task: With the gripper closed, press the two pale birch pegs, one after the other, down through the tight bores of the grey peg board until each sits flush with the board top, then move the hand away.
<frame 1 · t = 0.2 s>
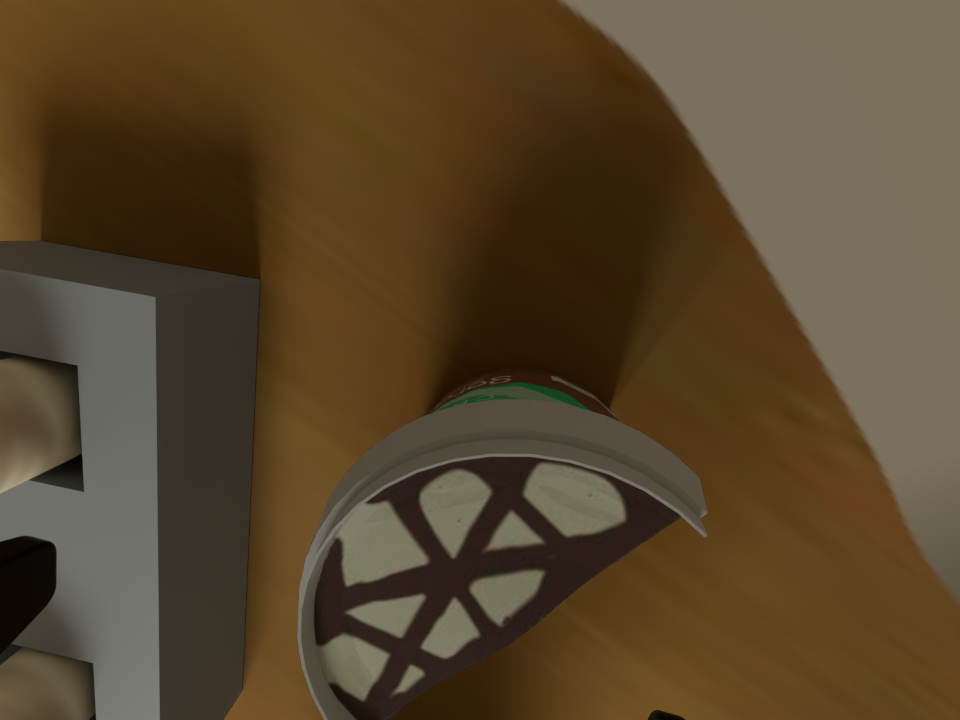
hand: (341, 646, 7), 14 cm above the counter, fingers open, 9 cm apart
birch peg a: (27, 710, 19), point 7 cm above the counter, slide at 3.5 cm
grey peg board: (151, 489, 24), on the counter
food container: (477, 422, 22), on the counter
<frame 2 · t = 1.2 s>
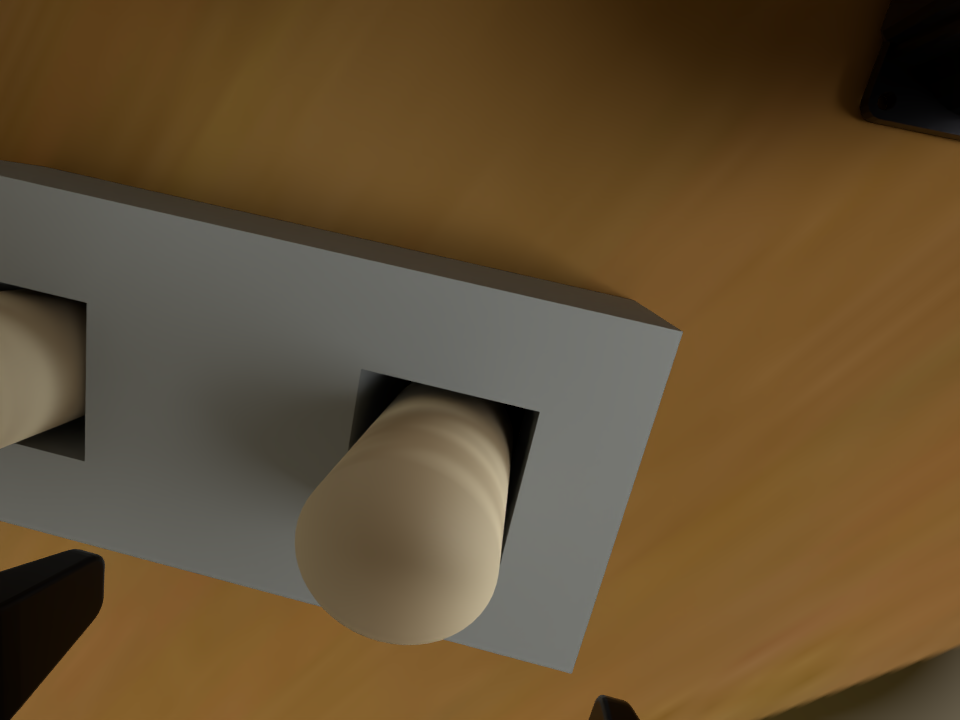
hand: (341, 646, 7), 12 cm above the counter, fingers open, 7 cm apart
birch peg a: (427, 483, 13), point 7 cm above the counter, slide at 3.5 cm
grey peg board: (311, 363, 19), on the counter
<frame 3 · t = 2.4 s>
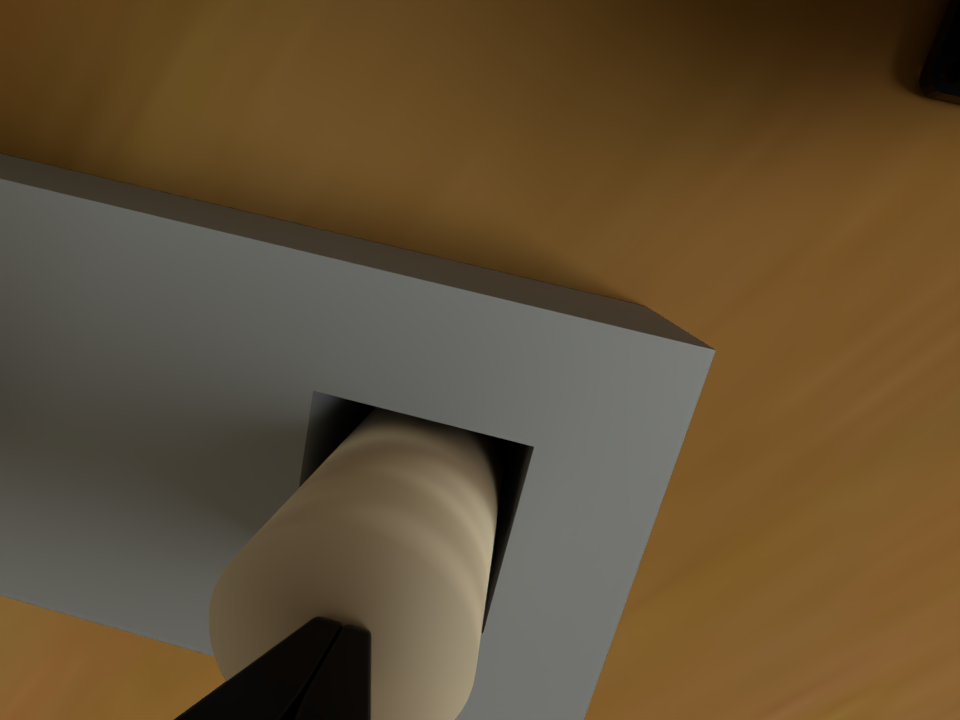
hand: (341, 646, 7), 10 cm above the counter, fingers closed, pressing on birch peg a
birch peg a: (395, 530, 10), point 7 cm above the counter, slide at 3.4 cm, touching gripper
grey peg board: (275, 374, 17), on the counter
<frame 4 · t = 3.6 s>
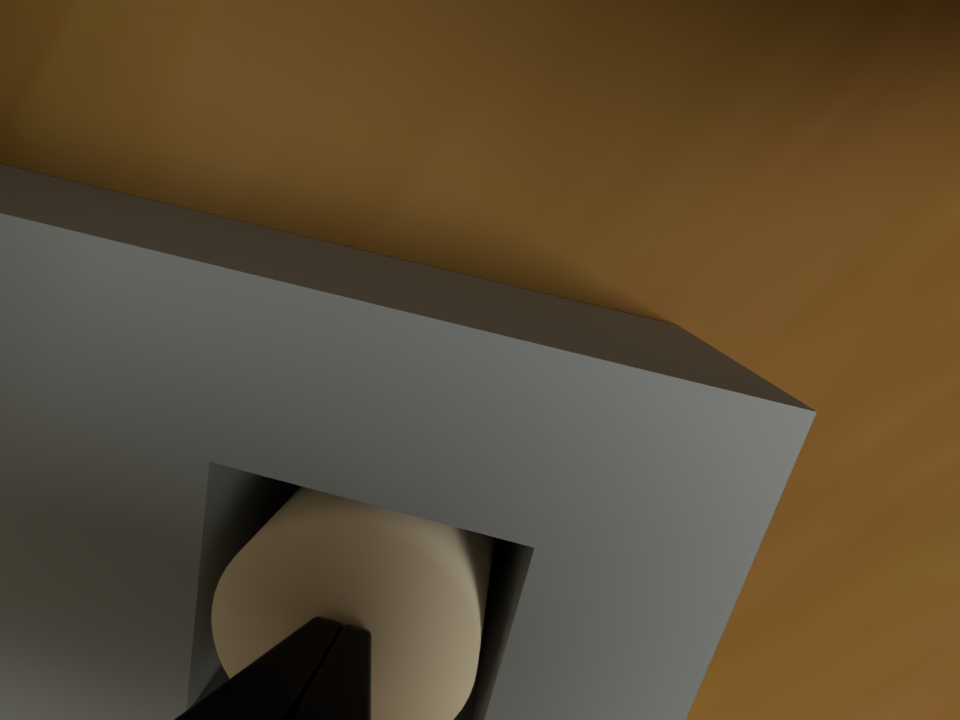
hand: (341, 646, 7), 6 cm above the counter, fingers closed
birch peg a: (396, 529, 10), point 3 cm above the counter, slide at 0.0 cm
grey peg board: (212, 407, 14), on the counter
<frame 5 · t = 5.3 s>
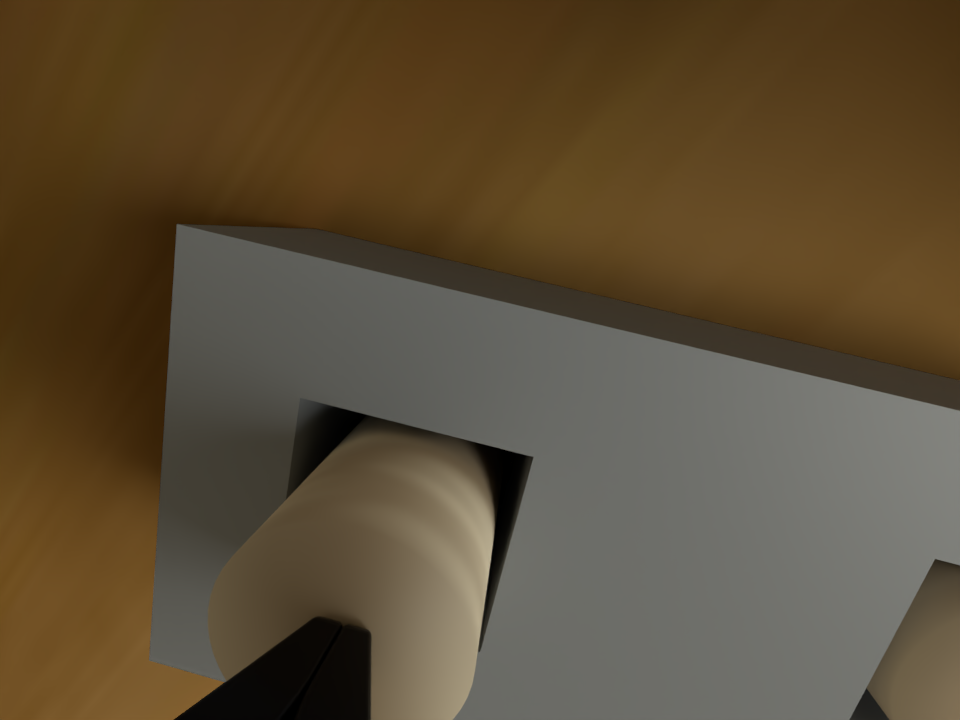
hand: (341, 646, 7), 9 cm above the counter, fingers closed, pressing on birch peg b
birch peg a: (897, 588, 12), point 3 cm above the counter, slide at 0.0 cm
grey peg board: (632, 471, 16), on the counter
birch peg b: (394, 529, 10), point 6 cm above the counter, slide at 2.8 cm, touching gripper
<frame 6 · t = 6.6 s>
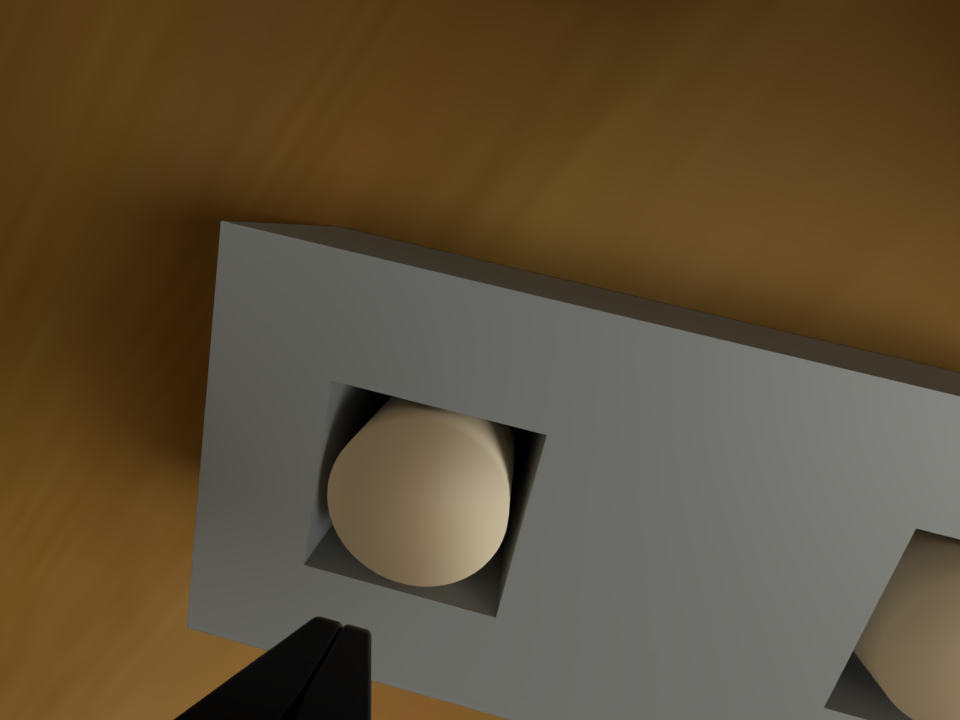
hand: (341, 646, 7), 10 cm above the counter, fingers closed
birch peg a: (886, 564, 13), point 3 cm above the counter, slide at 0.0 cm
grey peg board: (636, 456, 16), on the counter
birch peg b: (442, 449, 14), point 3 cm above the counter, slide at 0.0 cm
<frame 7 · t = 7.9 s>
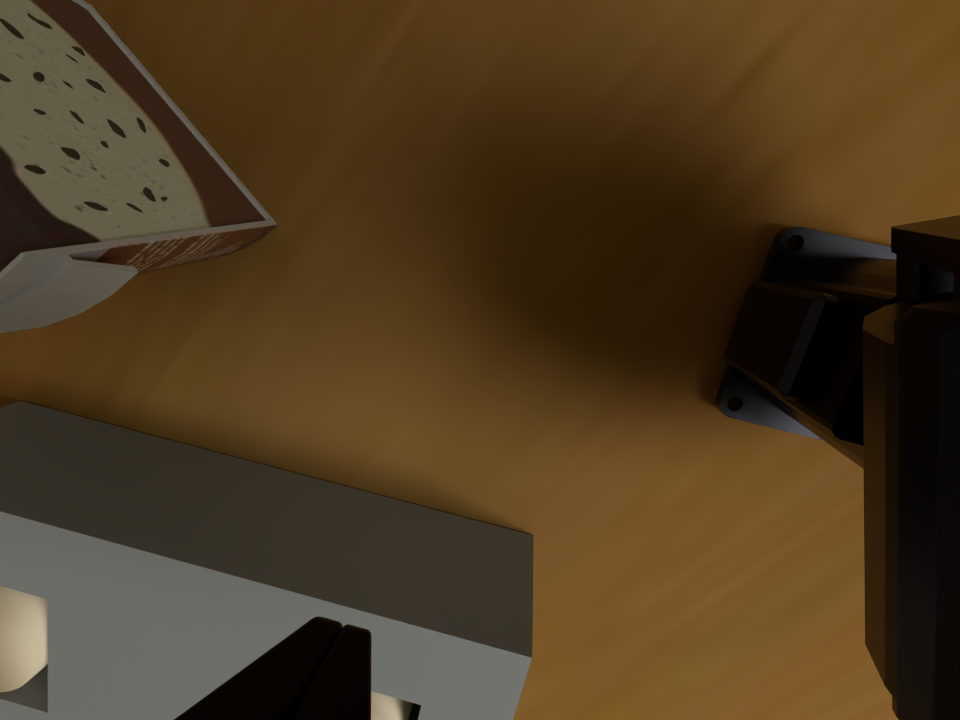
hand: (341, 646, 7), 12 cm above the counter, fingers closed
birch peg a: (366, 665, 18), point 3 cm above the counter, slide at 0.0 cm
grey peg board: (257, 568, 22), on the counter
birch peg b: (63, 579, 19), point 3 cm above the counter, slide at 0.0 cm
food container: (138, 178, 18), on the counter
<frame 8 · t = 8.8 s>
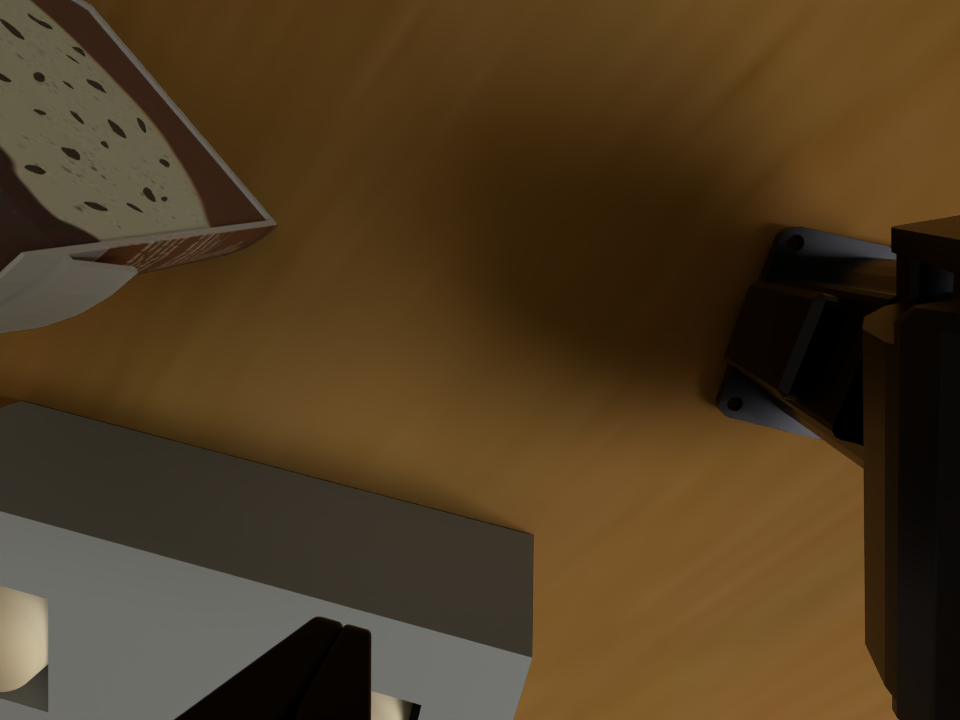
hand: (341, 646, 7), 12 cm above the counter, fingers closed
birch peg a: (366, 664, 18), point 3 cm above the counter, slide at 0.0 cm
grey peg board: (257, 568, 22), on the counter
birch peg b: (64, 579, 19), point 3 cm above the counter, slide at 0.0 cm
food container: (138, 178, 19), on the counter
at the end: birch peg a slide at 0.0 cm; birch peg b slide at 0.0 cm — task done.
